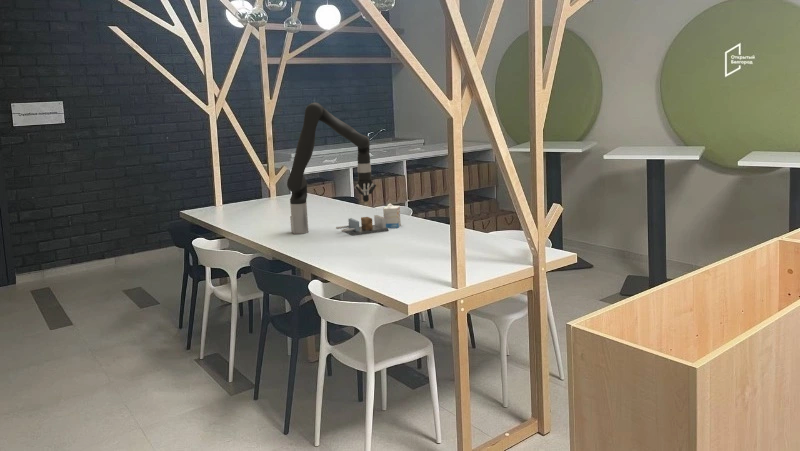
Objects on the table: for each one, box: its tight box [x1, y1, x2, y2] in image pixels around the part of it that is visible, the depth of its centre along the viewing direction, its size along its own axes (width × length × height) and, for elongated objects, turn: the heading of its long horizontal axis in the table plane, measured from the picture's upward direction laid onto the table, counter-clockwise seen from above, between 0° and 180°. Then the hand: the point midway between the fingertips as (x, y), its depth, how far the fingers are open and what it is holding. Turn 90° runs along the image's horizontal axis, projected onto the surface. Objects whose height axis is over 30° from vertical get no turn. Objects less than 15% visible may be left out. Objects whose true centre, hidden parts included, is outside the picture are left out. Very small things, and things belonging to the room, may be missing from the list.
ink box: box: [382, 203, 402, 229], centre depth 397 cm, size 9×8×13 cm
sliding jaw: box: [335, 217, 361, 233], centre depth 384 cm, size 10×12×6 cm
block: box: [360, 216, 373, 230], centre depth 388 cm, size 4×7×6 cm, turn 24°
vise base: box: [344, 214, 389, 237], centre depth 388 cm, size 22×14×7 cm, turn 114°
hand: (365, 201), depth 386 cm, fingers closed
